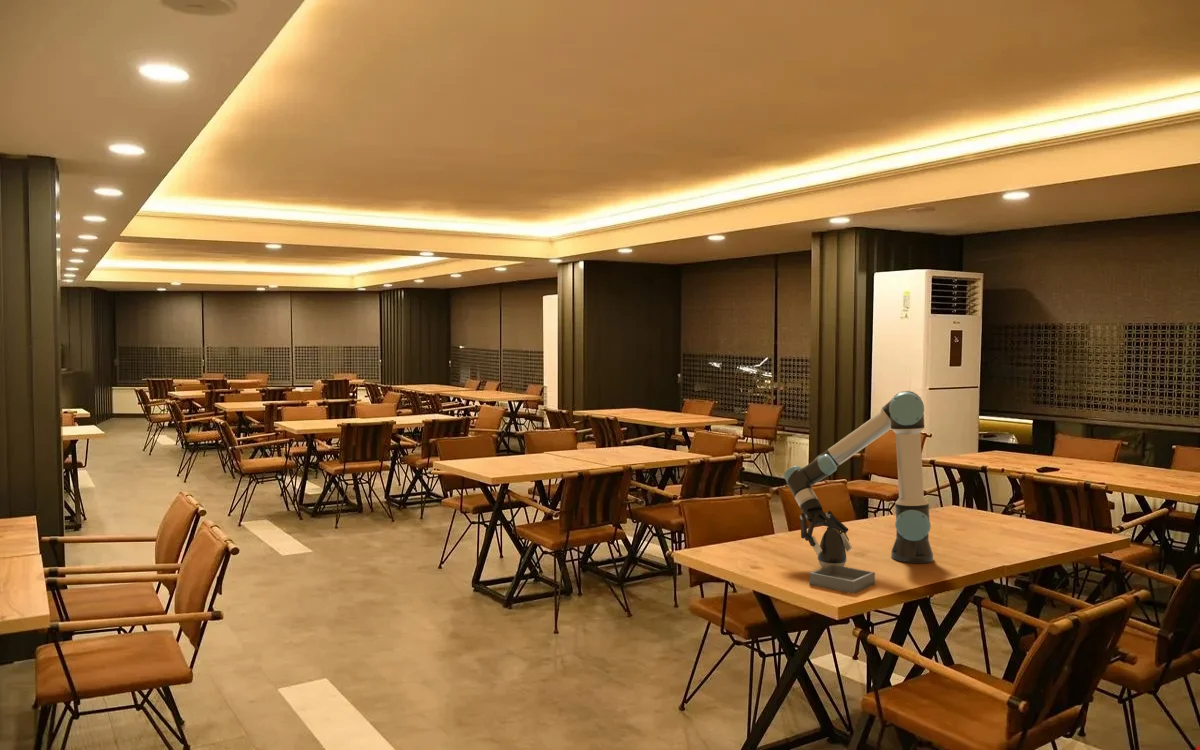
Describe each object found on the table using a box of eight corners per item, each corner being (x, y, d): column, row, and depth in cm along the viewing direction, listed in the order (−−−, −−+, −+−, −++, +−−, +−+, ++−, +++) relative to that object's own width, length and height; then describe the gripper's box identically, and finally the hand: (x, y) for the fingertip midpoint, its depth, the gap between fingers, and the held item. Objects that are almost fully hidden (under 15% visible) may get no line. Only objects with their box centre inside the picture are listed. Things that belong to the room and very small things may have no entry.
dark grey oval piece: (841, 565, 315) (841, 525, 315) (850, 573, 305) (850, 531, 304) (813, 565, 315) (814, 525, 314) (822, 573, 304) (822, 531, 304)
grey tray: (831, 575, 301) (831, 564, 301) (874, 584, 290) (874, 572, 290) (809, 584, 289) (809, 572, 289) (853, 593, 278) (853, 581, 278)
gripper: (830, 506, 329) (856, 553, 315) (777, 511, 318) (802, 560, 305) (839, 495, 324) (866, 542, 310) (786, 499, 313) (811, 548, 300)
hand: (834, 551), depth 308 cm, fingers open, 13 cm apart
